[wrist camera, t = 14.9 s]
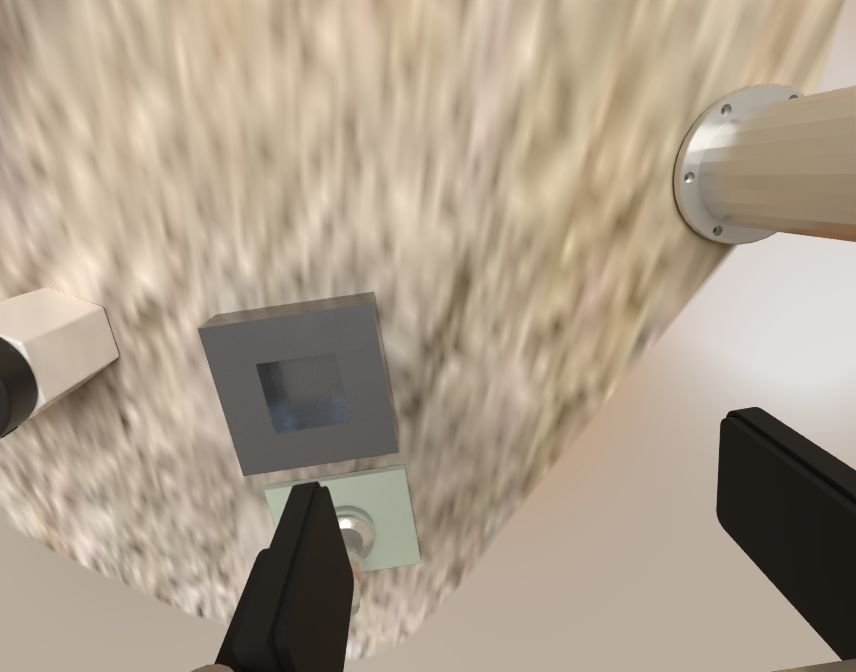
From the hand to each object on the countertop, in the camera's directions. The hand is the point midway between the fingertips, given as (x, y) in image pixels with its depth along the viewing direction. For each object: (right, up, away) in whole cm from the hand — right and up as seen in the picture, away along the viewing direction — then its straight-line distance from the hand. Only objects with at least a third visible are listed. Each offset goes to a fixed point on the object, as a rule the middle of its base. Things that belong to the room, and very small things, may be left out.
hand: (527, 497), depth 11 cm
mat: (-11, -16, +38) cm, 42 cm away
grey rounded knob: (-11, -16, +37) cm, 42 cm away
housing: (-13, 0, +32) cm, 35 cm away
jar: (-34, +4, +30) cm, 45 cm away
